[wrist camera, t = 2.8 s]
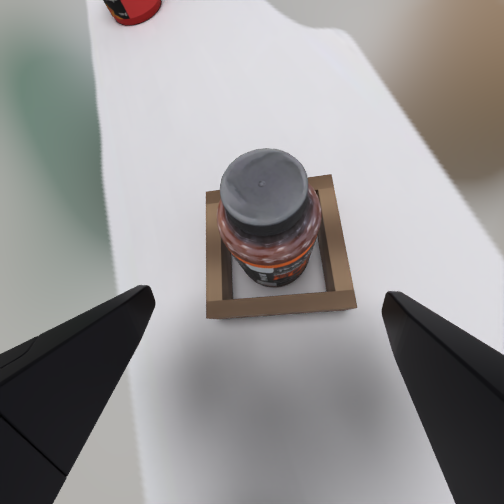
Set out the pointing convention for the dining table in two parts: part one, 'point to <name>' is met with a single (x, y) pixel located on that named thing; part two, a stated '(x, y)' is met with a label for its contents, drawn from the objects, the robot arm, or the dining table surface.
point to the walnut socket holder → (332, 300)
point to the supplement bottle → (268, 215)
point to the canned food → (132, 10)
